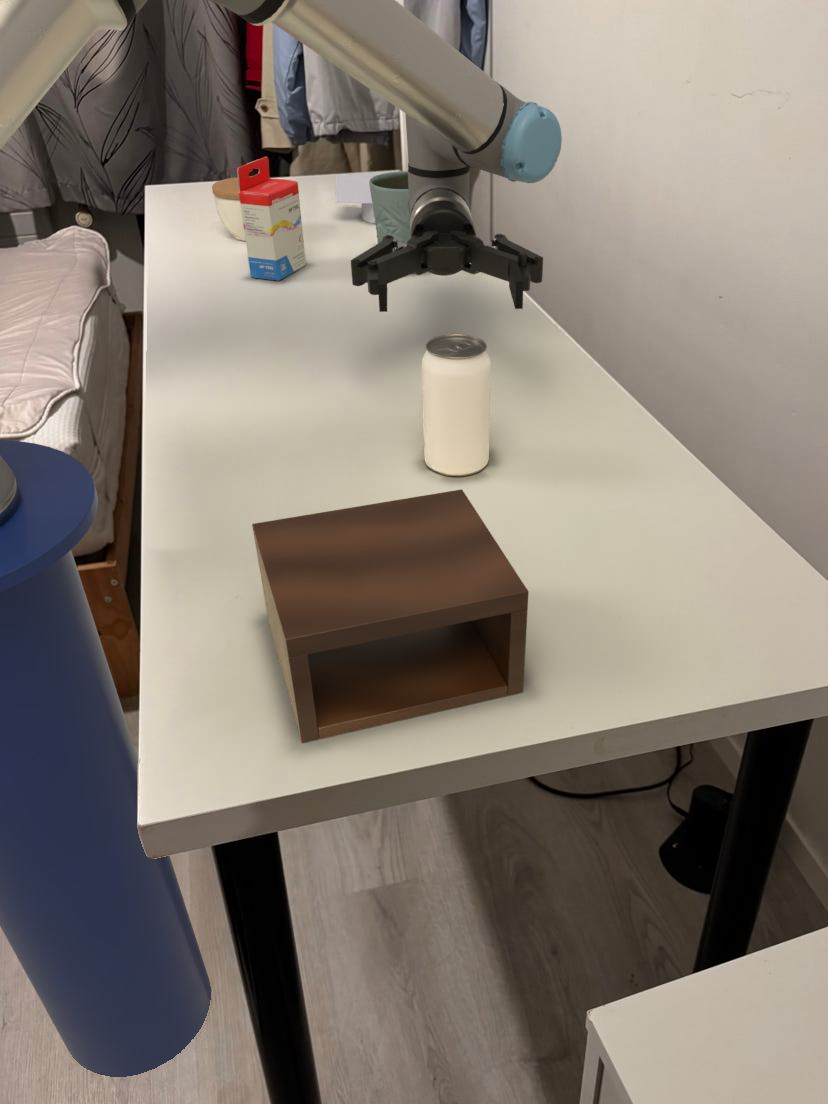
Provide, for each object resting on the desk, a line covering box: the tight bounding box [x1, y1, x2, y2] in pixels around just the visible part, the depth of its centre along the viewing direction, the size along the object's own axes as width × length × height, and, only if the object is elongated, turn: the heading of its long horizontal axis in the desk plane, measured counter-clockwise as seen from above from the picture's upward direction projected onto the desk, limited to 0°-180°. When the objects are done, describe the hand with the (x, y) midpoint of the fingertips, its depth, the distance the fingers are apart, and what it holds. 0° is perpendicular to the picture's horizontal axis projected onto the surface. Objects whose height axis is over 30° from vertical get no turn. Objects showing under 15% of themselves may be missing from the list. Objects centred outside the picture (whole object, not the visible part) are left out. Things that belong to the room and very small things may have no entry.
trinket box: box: [211, 175, 272, 242], centre depth 148 cm, size 11×11×9 cm
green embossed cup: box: [369, 170, 411, 244], centre depth 137 cm, size 10×10×12 cm
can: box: [421, 333, 492, 477], centre depth 89 cm, size 6×6×12 cm
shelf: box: [251, 488, 529, 744], centre depth 67 cm, size 14×16×9 cm
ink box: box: [236, 156, 307, 282], centre depth 133 cm, size 8×5×15 cm, turn 160°
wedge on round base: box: [334, 174, 377, 224], centre depth 159 cm, size 9×7×13 cm
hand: (451, 296), depth 92 cm, fingers open, 13 cm apart
